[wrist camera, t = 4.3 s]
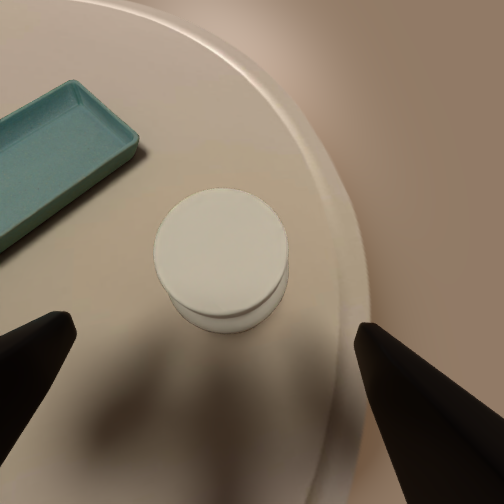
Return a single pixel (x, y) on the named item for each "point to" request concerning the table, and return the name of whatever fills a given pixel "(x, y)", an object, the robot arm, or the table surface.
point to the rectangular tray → (56, 155)
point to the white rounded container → (222, 259)
